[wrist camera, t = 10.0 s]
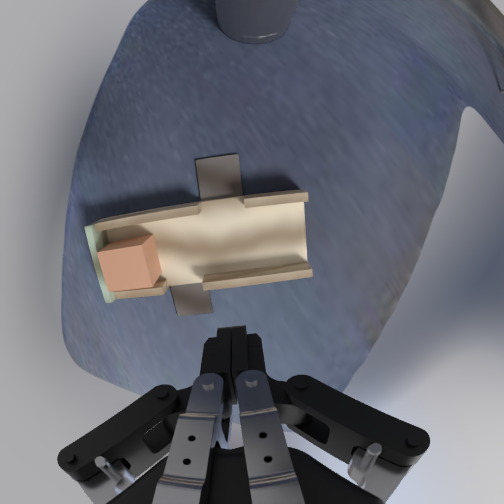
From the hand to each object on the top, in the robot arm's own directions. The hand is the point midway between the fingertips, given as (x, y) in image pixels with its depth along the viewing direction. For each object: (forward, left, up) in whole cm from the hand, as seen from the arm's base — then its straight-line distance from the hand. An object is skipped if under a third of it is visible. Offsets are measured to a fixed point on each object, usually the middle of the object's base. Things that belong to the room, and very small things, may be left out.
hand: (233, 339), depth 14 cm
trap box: (0, -4, -21) cm, 21 cm away
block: (0, -13, -20) cm, 23 cm away
